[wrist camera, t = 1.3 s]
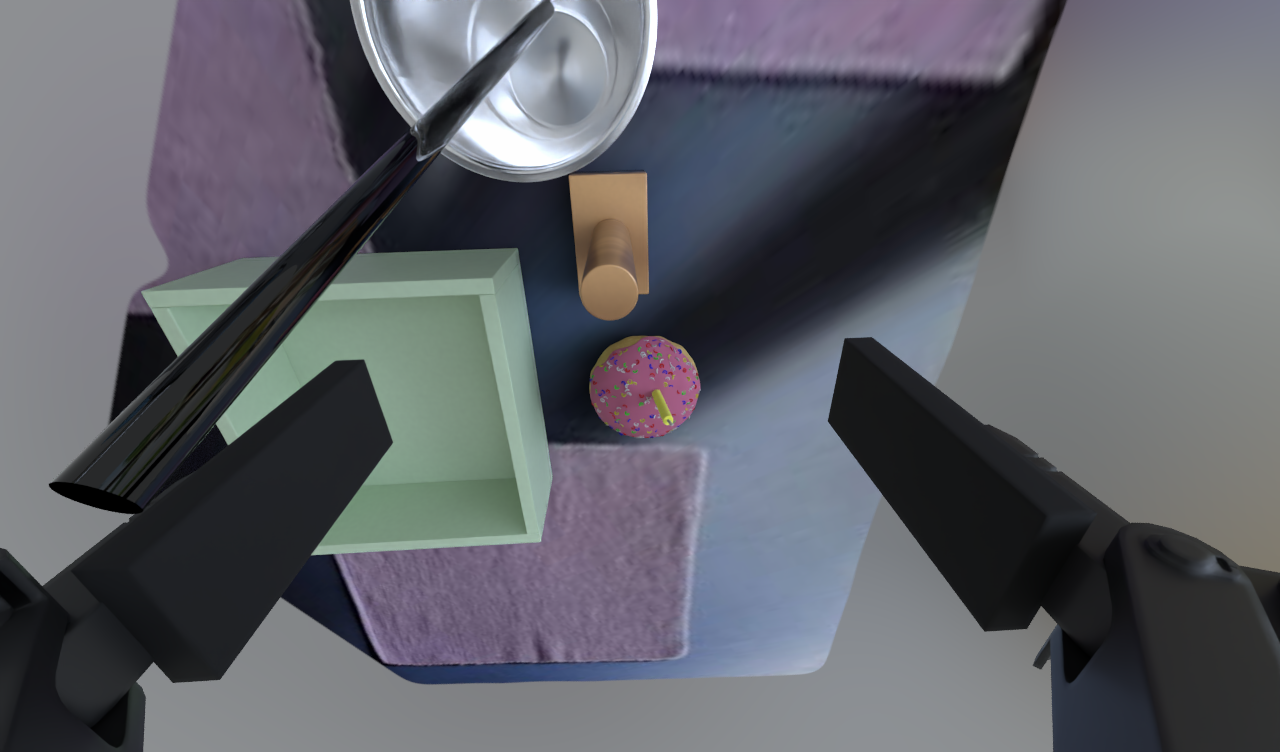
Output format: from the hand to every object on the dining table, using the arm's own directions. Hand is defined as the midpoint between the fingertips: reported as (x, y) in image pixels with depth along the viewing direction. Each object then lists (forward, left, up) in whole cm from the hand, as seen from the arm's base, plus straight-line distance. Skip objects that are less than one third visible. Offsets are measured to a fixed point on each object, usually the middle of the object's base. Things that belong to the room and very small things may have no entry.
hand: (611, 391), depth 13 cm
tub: (+12, -17, -23) cm, 31 cm away
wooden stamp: (0, 0, -23) cm, 23 cm away
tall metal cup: (-9, -3, -24) cm, 25 cm away
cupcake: (+11, +2, -24) cm, 26 cm away
